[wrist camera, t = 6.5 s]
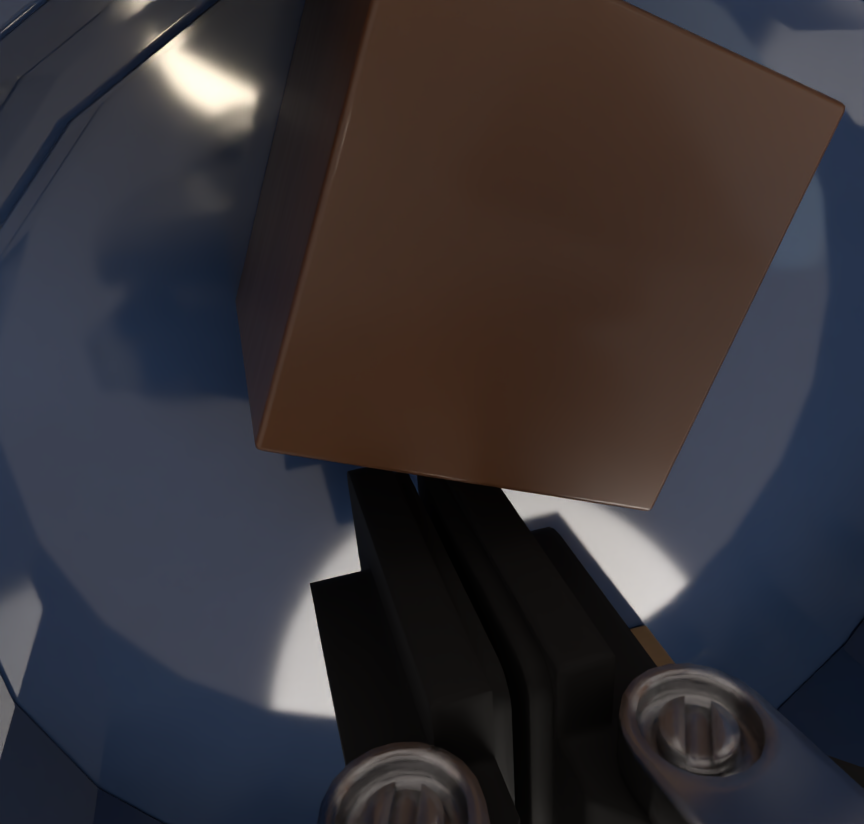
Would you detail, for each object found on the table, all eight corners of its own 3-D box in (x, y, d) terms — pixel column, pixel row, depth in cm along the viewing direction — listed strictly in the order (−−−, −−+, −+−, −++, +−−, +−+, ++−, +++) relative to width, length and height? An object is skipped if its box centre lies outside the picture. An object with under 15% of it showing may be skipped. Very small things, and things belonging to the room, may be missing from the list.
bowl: (-504, -189, 6) (-1926, -666, 2) (1161, -216, 10) (1841, -402, 6) (103, 984, 15) (65, 1354, 11) (883, 727, 19) (1081, 925, 15)
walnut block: (314, -41, 8) (398, -107, 5) (616, 84, 10) (851, 105, 6) (233, 304, 9) (253, 451, 6) (509, 366, 11) (652, 514, 7)
